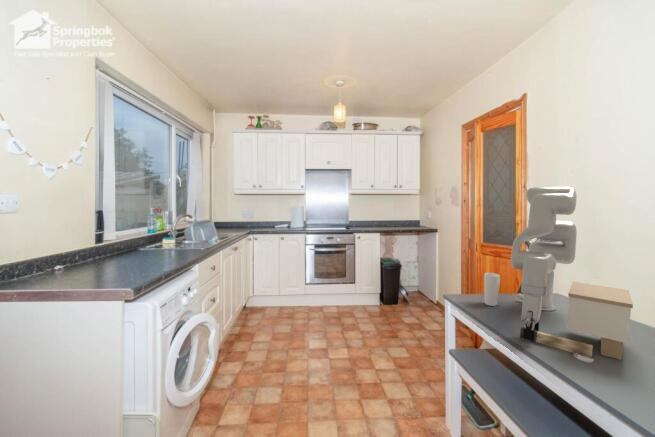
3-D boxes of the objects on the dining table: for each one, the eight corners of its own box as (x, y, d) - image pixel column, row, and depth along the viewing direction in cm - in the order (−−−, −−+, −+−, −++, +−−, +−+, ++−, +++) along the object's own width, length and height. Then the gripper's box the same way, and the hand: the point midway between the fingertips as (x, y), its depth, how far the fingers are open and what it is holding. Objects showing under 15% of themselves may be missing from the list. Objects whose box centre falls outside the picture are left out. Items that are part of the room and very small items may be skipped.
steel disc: (571, 358, 98) (571, 354, 98) (576, 353, 101) (576, 350, 101) (590, 365, 94) (591, 361, 94) (595, 360, 97) (595, 357, 97)
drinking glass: (480, 304, 147) (482, 274, 146) (485, 301, 152) (486, 271, 151) (496, 308, 142) (498, 276, 141) (500, 304, 147) (501, 274, 146)
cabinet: (564, 347, 105) (568, 293, 103) (569, 328, 120) (572, 281, 119) (627, 364, 94) (632, 304, 93) (624, 341, 109) (628, 290, 108)
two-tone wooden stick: (520, 337, 111) (520, 328, 111) (521, 336, 113) (521, 326, 113) (591, 357, 98) (592, 347, 98) (591, 355, 99) (592, 344, 99)
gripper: (526, 282, 118) (523, 325, 119) (516, 292, 105) (514, 339, 106) (549, 286, 113) (546, 331, 114) (543, 297, 100) (539, 347, 101)
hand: (531, 335), depth 110 cm, fingers open, 9 cm apart
